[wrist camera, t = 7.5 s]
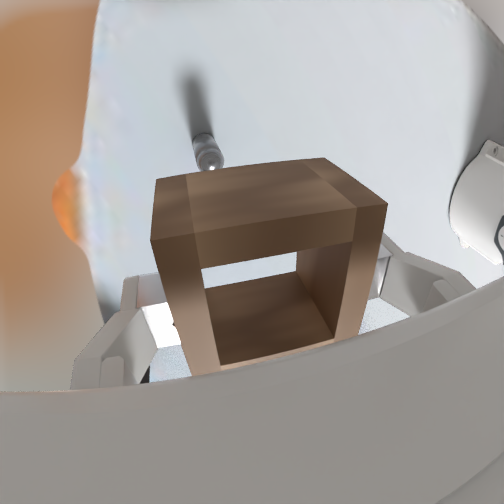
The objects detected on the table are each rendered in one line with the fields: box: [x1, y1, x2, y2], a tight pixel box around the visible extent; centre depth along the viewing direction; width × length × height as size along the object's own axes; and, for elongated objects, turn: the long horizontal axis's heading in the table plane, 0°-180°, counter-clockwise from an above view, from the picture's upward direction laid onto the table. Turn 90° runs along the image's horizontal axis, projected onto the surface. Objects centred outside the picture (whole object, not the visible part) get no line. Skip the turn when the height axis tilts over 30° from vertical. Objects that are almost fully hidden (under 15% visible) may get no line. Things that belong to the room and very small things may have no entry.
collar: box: [150, 158, 388, 376], centre depth 10 cm, size 6×6×4 cm
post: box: [193, 133, 224, 172], centre depth 24 cm, size 2×2×6 cm
